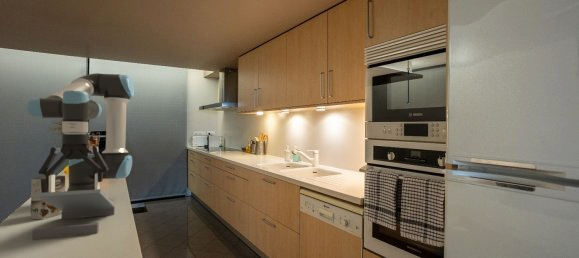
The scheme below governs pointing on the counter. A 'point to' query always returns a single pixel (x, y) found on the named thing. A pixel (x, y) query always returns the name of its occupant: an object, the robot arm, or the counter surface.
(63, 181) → the coffee box
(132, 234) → the counter surface
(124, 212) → the counter surface
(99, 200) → the panel
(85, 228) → the rails
